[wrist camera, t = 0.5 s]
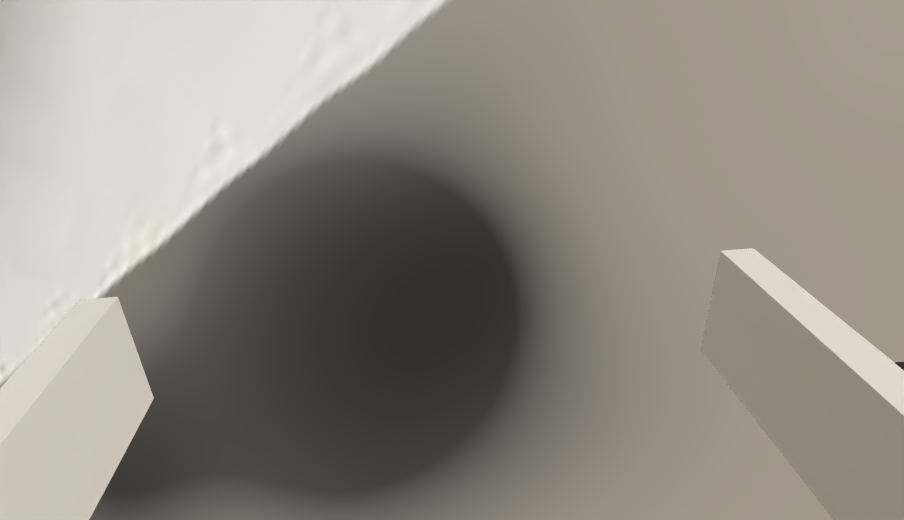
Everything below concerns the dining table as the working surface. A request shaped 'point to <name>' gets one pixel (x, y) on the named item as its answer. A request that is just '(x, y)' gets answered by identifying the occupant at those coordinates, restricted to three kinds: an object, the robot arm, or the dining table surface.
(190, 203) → the dining table surface
